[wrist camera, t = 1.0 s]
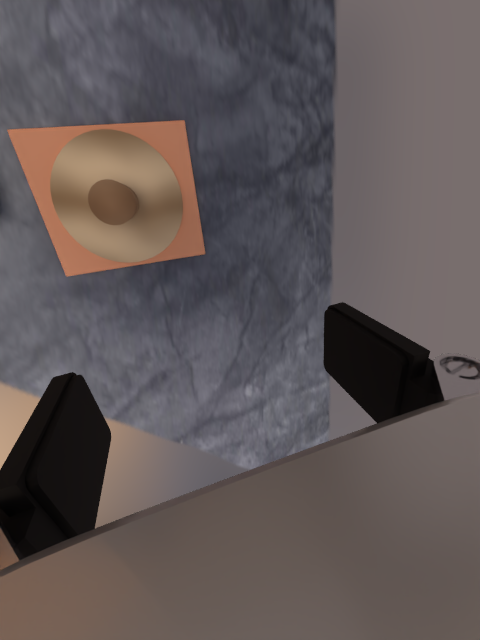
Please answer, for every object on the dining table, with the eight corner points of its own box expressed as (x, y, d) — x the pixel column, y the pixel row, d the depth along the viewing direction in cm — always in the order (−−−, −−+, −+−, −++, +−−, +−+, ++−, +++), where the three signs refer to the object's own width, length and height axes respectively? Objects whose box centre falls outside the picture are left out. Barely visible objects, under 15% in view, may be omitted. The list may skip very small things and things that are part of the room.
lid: (31, 136, 21) (-19, 110, 15) (168, 128, 24) (173, 103, 18) (81, 268, 26) (58, 290, 20) (191, 251, 28) (200, 265, 22)
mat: (10, 131, 21) (7, 129, 21) (183, 122, 24) (184, 120, 24) (68, 275, 27) (66, 276, 26) (204, 253, 30) (205, 254, 29)
